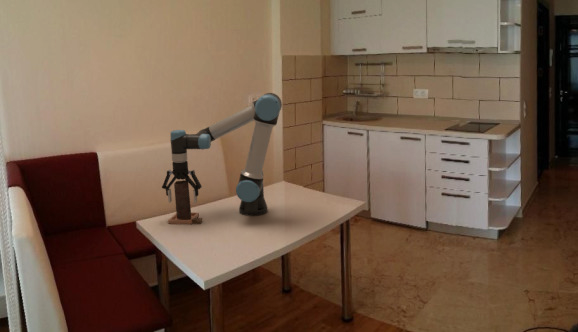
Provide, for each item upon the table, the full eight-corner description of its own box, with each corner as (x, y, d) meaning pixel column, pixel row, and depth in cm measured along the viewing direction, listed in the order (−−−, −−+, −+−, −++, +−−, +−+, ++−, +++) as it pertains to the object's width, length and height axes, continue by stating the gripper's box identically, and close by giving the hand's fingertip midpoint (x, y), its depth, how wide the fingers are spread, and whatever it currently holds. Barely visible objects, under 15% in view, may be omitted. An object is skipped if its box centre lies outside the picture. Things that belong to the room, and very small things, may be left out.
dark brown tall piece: (188, 221, 262) (184, 183, 257) (174, 221, 263) (171, 183, 258) (193, 216, 269) (190, 179, 264) (180, 216, 270) (177, 179, 266)
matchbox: (202, 222, 262) (202, 218, 262) (200, 223, 259) (200, 220, 259) (193, 221, 263) (192, 218, 263) (191, 223, 260) (190, 220, 260)
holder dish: (199, 216, 272) (199, 212, 271) (191, 224, 259) (191, 220, 259) (177, 215, 273) (177, 212, 273) (168, 223, 261) (168, 220, 260)
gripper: (206, 159, 261) (208, 200, 266) (158, 159, 265) (162, 199, 269) (201, 162, 254) (204, 204, 259) (153, 162, 257) (156, 203, 262)
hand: (182, 202), depth 264 cm, fingers open, 13 cm apart
